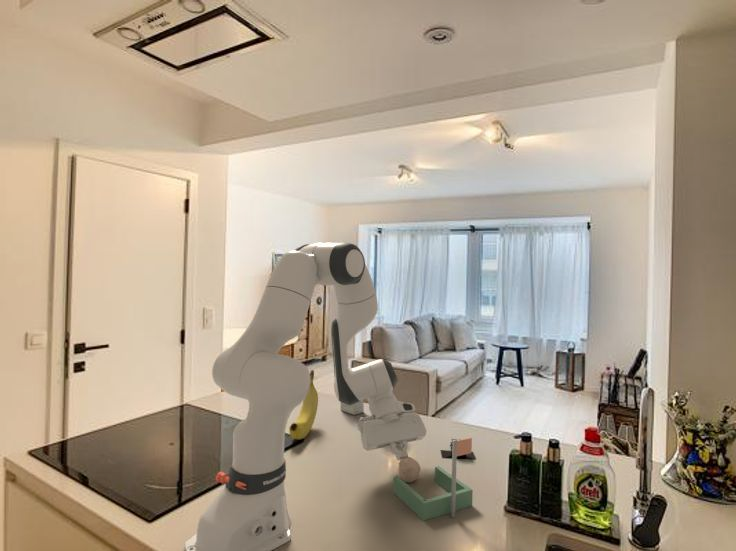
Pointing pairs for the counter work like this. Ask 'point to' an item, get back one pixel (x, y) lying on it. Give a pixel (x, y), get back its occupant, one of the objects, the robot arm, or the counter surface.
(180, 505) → the counter surface
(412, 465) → the garlic bulb
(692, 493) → the counter surface
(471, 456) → the build plate
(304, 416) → the banana
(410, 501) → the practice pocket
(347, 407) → the skincare box
